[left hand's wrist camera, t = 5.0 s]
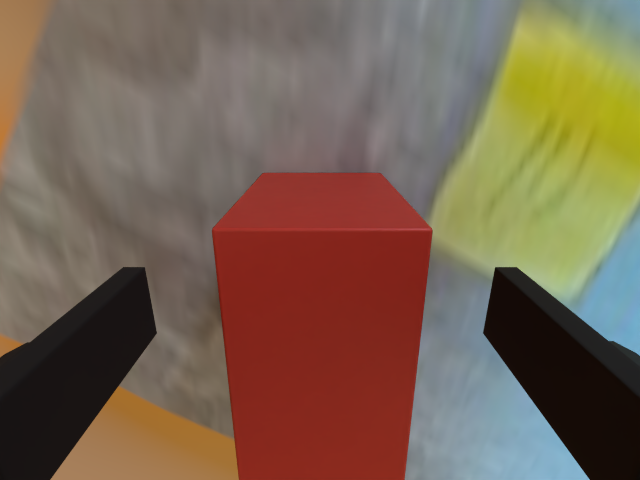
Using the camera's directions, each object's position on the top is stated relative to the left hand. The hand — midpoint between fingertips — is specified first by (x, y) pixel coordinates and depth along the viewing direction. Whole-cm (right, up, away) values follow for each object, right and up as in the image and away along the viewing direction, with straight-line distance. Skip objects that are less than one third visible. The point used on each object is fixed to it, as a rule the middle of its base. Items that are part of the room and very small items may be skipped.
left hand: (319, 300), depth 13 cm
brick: (0, +1, +3) cm, 3 cm away
